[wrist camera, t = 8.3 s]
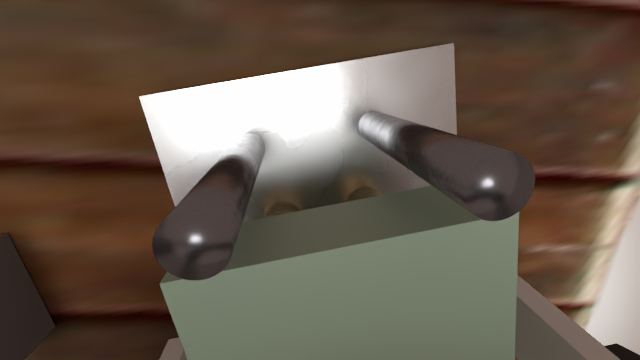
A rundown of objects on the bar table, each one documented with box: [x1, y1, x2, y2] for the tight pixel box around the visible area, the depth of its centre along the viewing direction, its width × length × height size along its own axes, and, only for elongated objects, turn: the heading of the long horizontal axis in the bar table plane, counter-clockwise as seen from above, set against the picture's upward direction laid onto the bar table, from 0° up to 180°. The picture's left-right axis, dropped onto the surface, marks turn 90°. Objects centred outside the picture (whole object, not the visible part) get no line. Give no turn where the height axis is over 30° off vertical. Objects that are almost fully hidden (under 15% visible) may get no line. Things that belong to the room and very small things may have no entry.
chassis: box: [139, 43, 535, 280], centre depth 12 cm, size 12×20×9 cm, turn 9°
